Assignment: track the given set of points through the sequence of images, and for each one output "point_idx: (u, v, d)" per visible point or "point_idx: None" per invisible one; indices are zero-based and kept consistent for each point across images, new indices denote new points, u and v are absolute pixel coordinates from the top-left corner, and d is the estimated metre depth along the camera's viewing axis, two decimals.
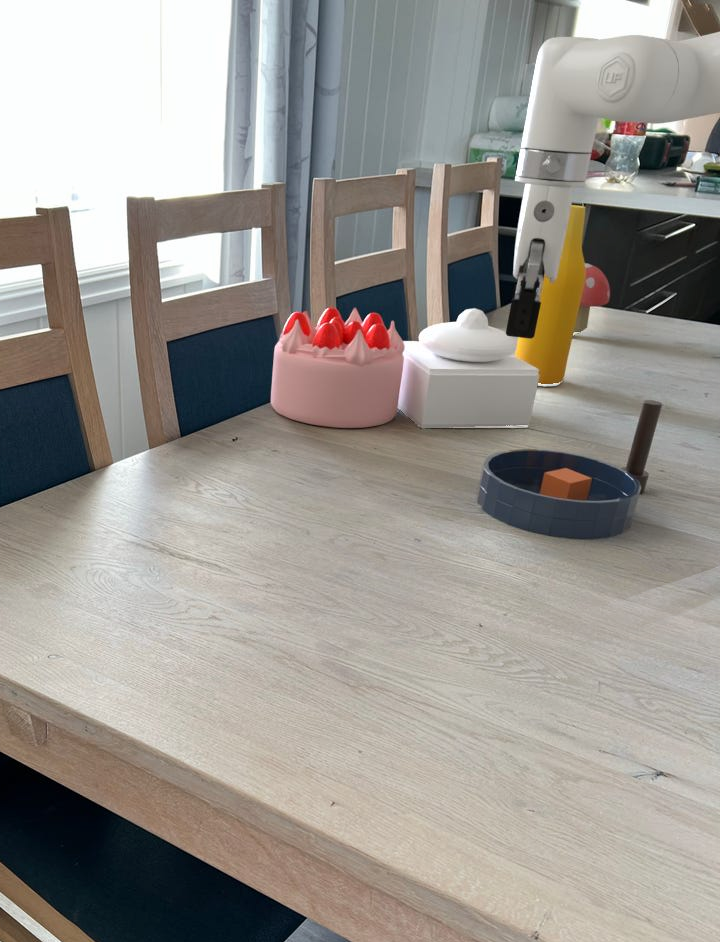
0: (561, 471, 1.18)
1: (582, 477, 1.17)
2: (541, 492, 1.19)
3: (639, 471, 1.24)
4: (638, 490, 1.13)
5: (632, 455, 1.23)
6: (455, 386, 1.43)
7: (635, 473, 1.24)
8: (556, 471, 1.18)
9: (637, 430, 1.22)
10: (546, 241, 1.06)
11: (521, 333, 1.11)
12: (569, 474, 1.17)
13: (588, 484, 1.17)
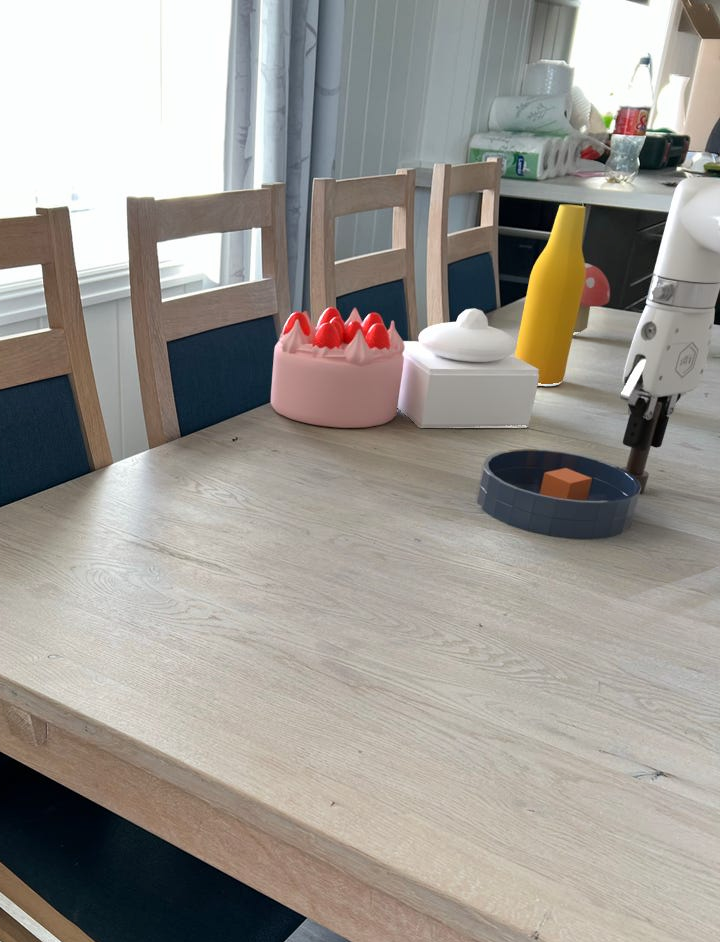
0: (561, 471, 1.18)
1: (582, 477, 1.17)
2: (541, 492, 1.19)
3: (639, 471, 1.24)
4: (638, 490, 1.13)
5: (632, 455, 1.23)
6: (455, 386, 1.43)
7: (635, 473, 1.24)
8: (556, 471, 1.18)
9: None
10: (647, 358, 1.14)
11: (634, 444, 1.22)
12: (569, 474, 1.17)
13: (588, 484, 1.17)
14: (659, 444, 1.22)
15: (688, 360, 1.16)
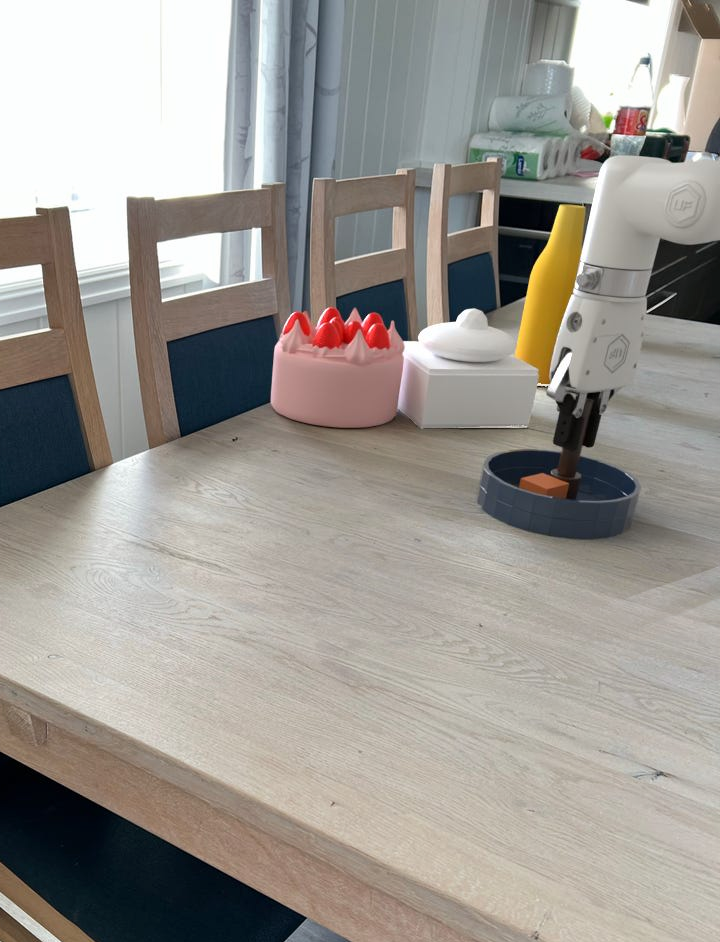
0: (537, 476, 1.16)
1: (559, 483, 1.14)
2: None
3: (570, 473, 1.16)
4: (638, 490, 1.13)
5: (563, 456, 1.15)
6: (455, 386, 1.43)
7: (566, 475, 1.16)
8: (533, 476, 1.16)
9: None
10: (573, 351, 1.06)
11: (564, 444, 1.14)
12: (546, 480, 1.15)
13: (565, 489, 1.15)
14: (591, 444, 1.14)
15: (618, 353, 1.08)
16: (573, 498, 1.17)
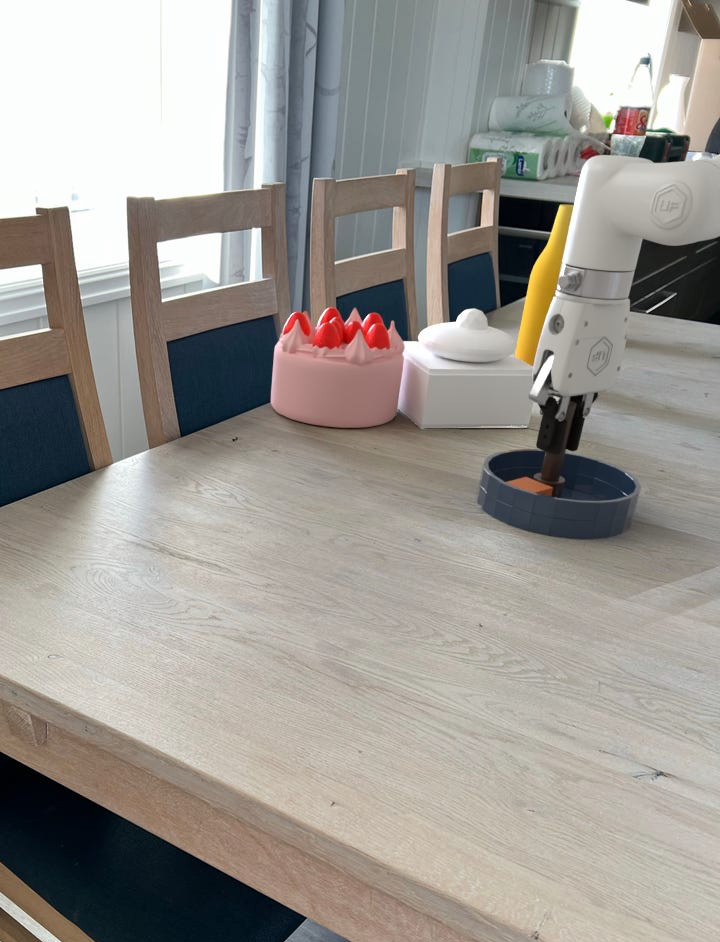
0: (521, 480, 1.14)
1: (543, 487, 1.13)
2: None
3: (554, 477, 1.14)
4: (638, 490, 1.13)
5: (546, 460, 1.14)
6: (455, 386, 1.43)
7: (550, 479, 1.14)
8: (516, 480, 1.14)
9: None
10: (555, 354, 1.05)
11: (548, 448, 1.12)
12: (530, 484, 1.13)
13: (549, 494, 1.13)
14: (575, 447, 1.13)
15: (601, 356, 1.06)
16: None
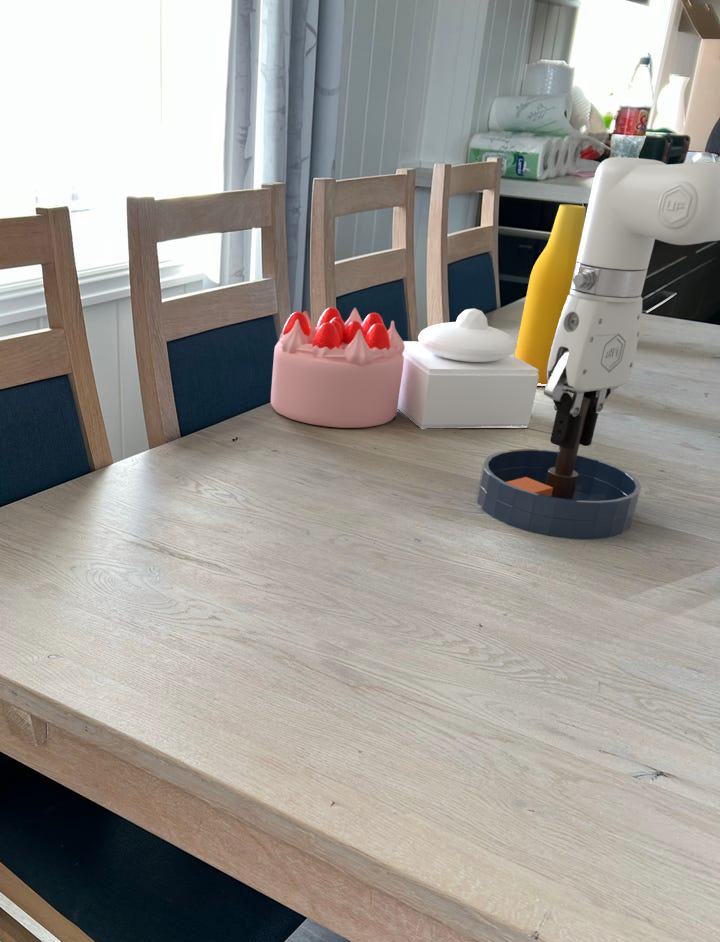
0: (521, 480, 1.14)
1: (543, 487, 1.13)
2: None
3: (568, 471, 1.17)
4: (638, 490, 1.13)
5: (560, 454, 1.17)
6: (454, 386, 1.43)
7: (564, 473, 1.17)
8: (516, 480, 1.14)
9: None
10: (570, 351, 1.07)
11: (562, 443, 1.15)
12: (530, 484, 1.13)
13: (549, 494, 1.13)
14: (588, 442, 1.16)
15: (615, 353, 1.09)
16: (570, 496, 1.18)
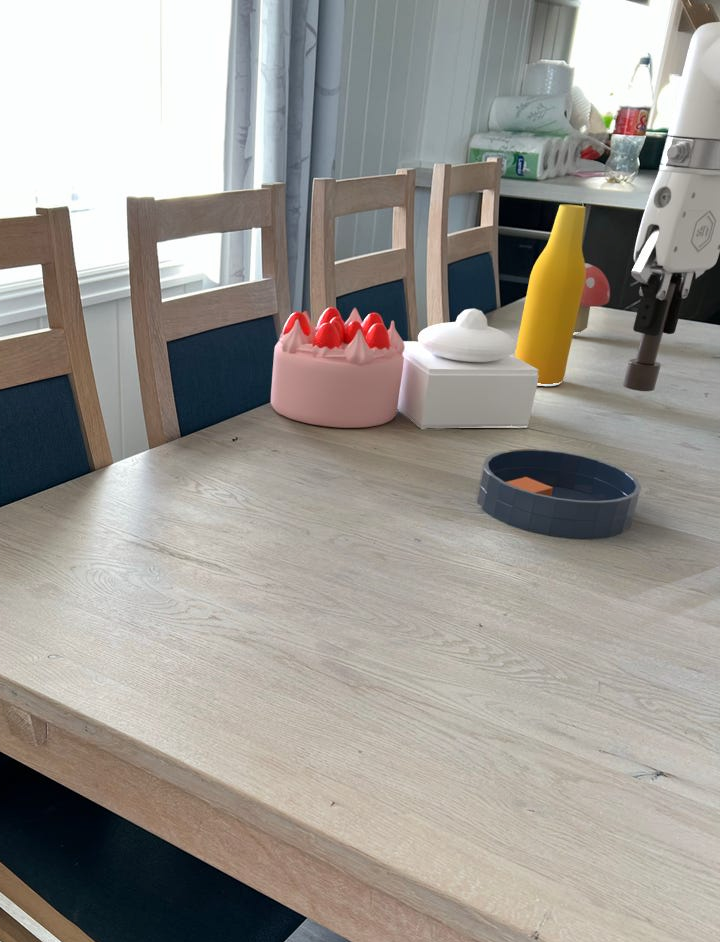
0: (521, 480, 1.14)
1: (543, 487, 1.13)
2: None
3: (650, 361, 1.15)
4: (638, 490, 1.13)
5: (643, 343, 1.14)
6: (454, 386, 1.43)
7: (646, 363, 1.15)
8: (516, 480, 1.14)
9: None
10: (660, 227, 1.05)
11: (646, 330, 1.13)
12: (530, 484, 1.13)
13: (549, 494, 1.13)
14: (673, 330, 1.13)
15: (705, 232, 1.07)
16: (652, 387, 1.16)
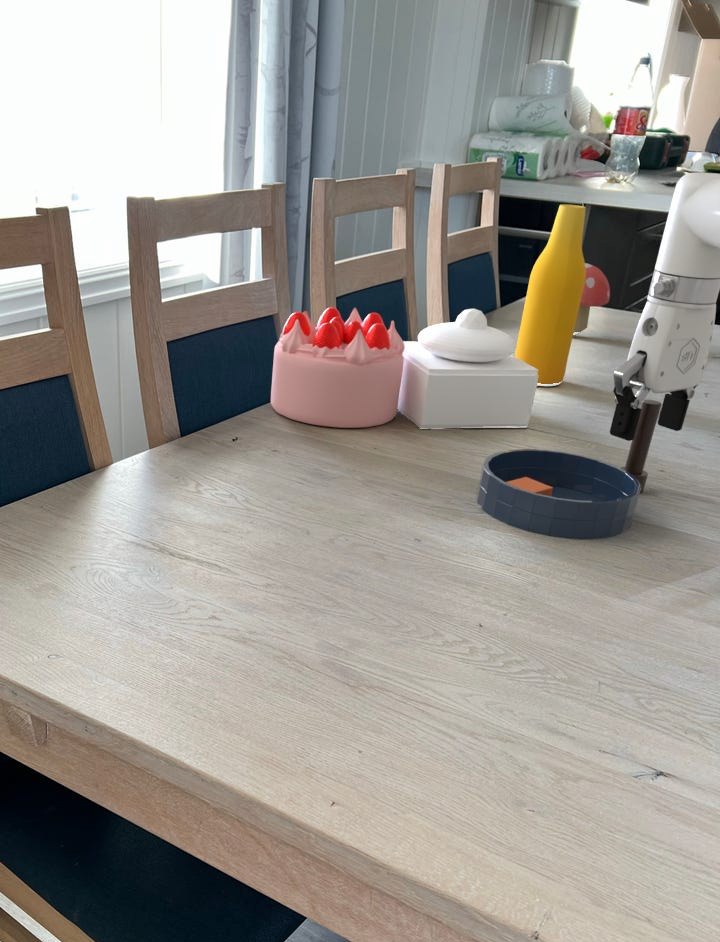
0: (521, 480, 1.14)
1: (543, 487, 1.13)
2: None
3: (638, 471, 1.24)
4: (638, 490, 1.13)
5: (631, 455, 1.23)
6: (454, 386, 1.43)
7: (634, 473, 1.24)
8: (516, 480, 1.14)
9: (636, 430, 1.22)
10: (648, 354, 1.14)
11: (621, 434, 1.19)
12: (530, 484, 1.13)
13: (549, 494, 1.13)
14: (679, 427, 1.23)
15: (689, 356, 1.15)
16: None
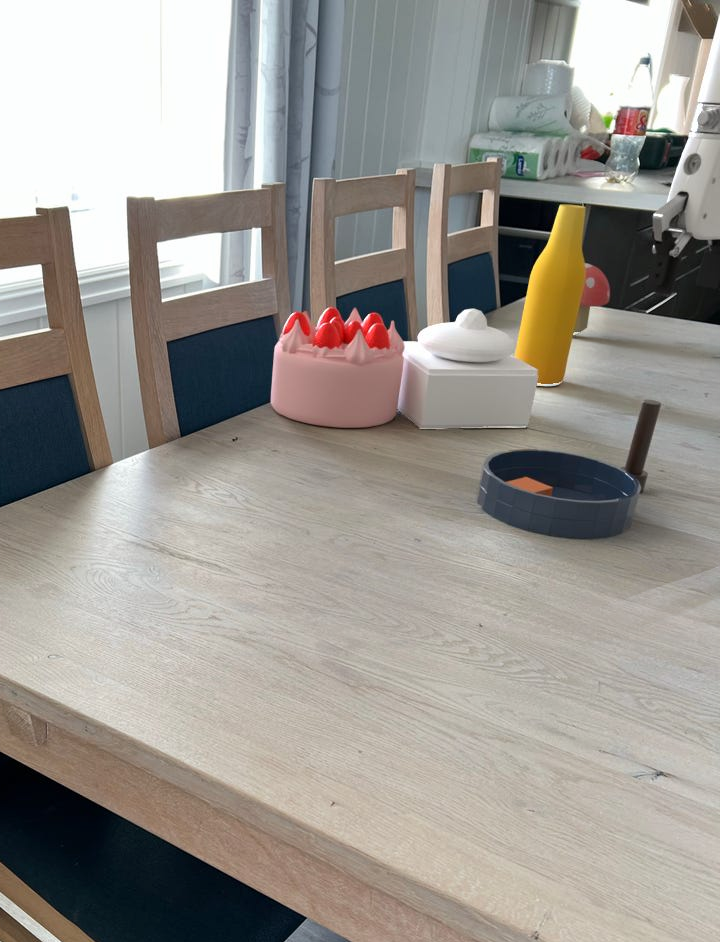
0: (521, 480, 1.14)
1: (543, 487, 1.13)
2: None
3: (638, 471, 1.24)
4: (638, 490, 1.13)
5: (631, 455, 1.23)
6: (454, 386, 1.43)
7: (634, 473, 1.24)
8: (516, 480, 1.14)
9: (636, 430, 1.22)
10: (690, 194, 1.05)
11: (659, 288, 1.11)
12: (530, 484, 1.13)
13: (549, 494, 1.13)
14: None
15: None
16: None
